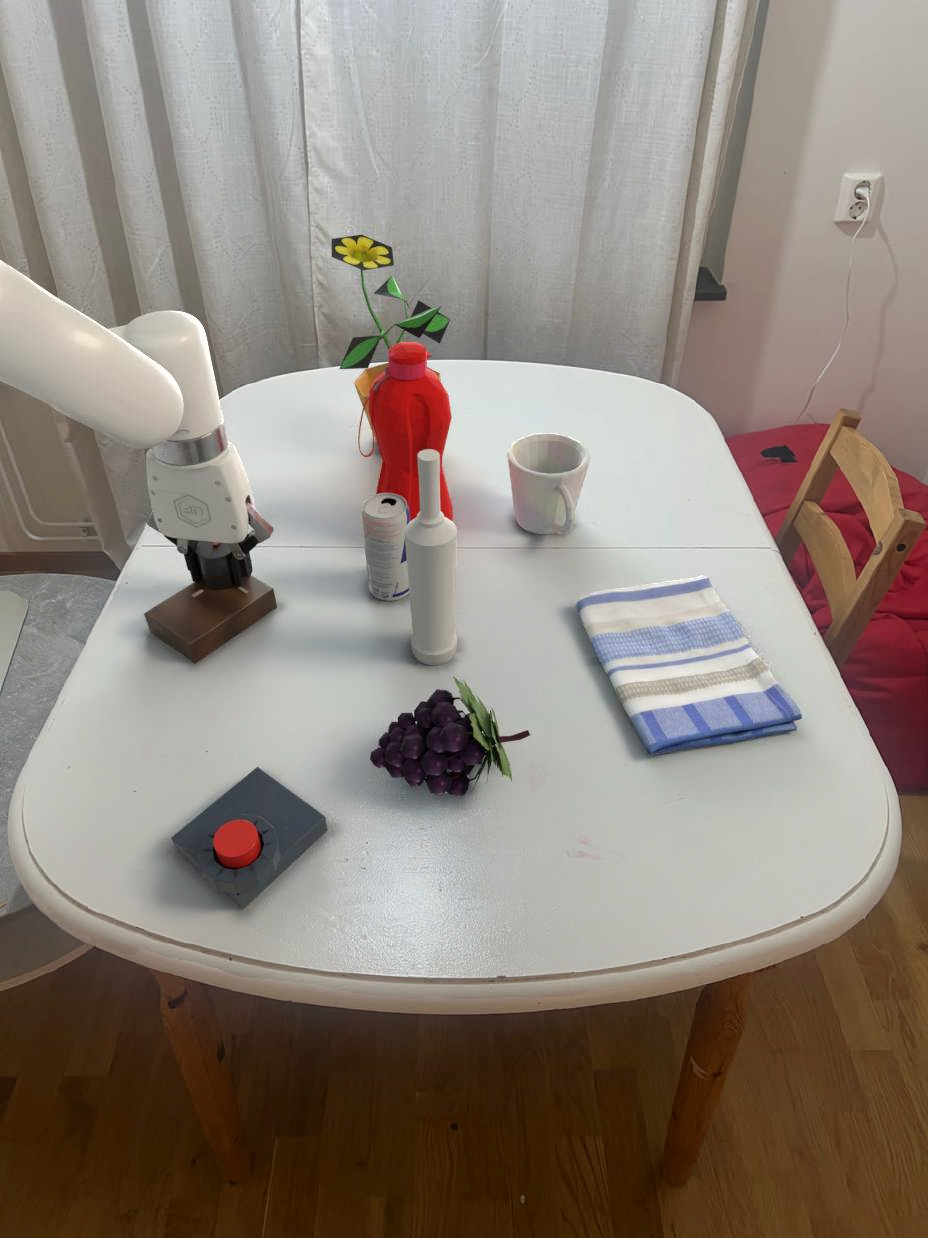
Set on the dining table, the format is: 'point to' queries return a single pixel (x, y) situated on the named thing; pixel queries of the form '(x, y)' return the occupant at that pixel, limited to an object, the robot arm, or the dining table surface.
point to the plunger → (237, 843)
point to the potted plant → (362, 349)
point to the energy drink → (386, 545)
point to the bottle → (431, 569)
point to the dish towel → (683, 666)
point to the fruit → (443, 743)
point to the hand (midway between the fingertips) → (222, 575)
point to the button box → (279, 826)
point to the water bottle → (408, 423)
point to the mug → (547, 481)
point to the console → (209, 616)
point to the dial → (215, 564)
